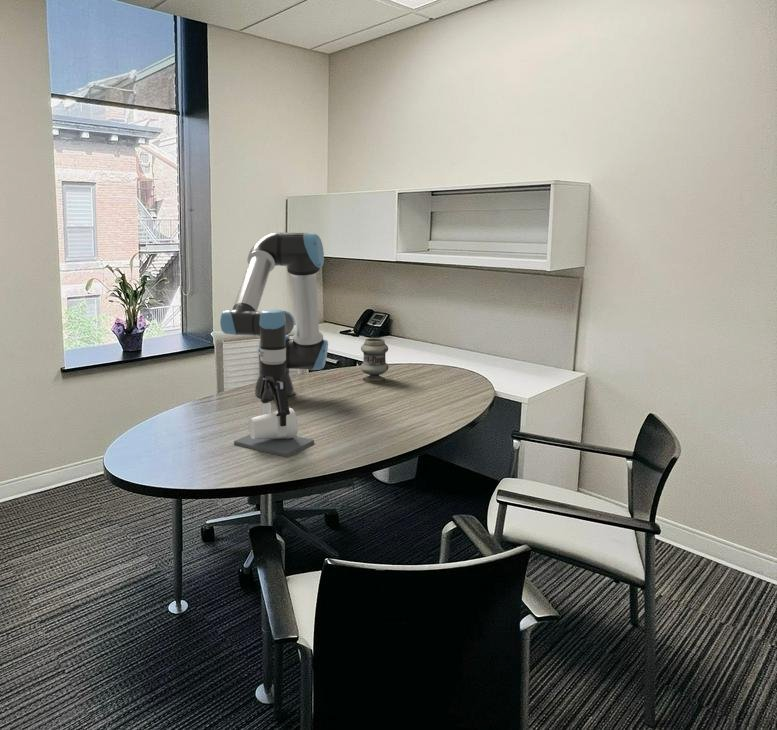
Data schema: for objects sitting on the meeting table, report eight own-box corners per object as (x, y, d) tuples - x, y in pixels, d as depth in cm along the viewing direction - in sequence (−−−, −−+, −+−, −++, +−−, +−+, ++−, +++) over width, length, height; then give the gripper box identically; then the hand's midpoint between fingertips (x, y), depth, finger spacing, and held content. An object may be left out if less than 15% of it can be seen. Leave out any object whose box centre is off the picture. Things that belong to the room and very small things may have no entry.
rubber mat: (234, 444, 196) (233, 441, 196) (263, 431, 208) (263, 428, 208) (286, 456, 187) (286, 453, 187) (314, 442, 199) (314, 439, 199)
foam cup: (245, 418, 199) (284, 412, 205) (250, 446, 196) (290, 440, 203) (253, 409, 191) (294, 404, 197) (259, 439, 188) (300, 433, 195)
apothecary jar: (355, 378, 280) (356, 337, 276) (380, 375, 286) (381, 336, 282) (367, 384, 270) (368, 342, 266) (392, 382, 275) (394, 341, 271)
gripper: (247, 354, 201) (249, 419, 205) (275, 371, 180) (276, 443, 184) (270, 352, 204) (271, 416, 209) (300, 369, 183) (301, 439, 188)
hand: (274, 429), depth 197 cm, fingers open, 13 cm apart
